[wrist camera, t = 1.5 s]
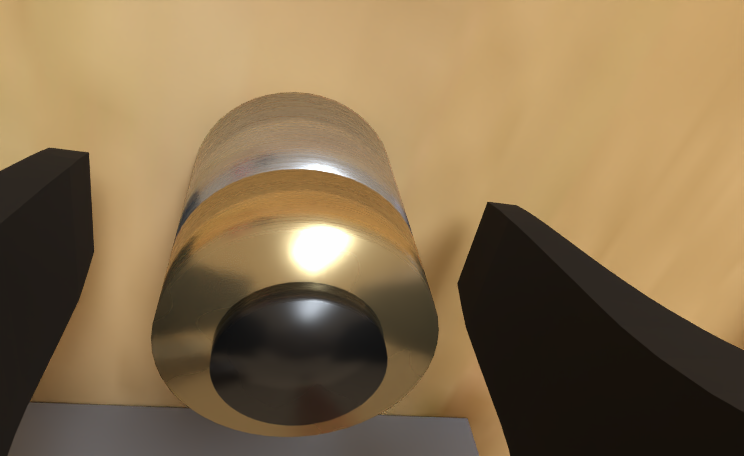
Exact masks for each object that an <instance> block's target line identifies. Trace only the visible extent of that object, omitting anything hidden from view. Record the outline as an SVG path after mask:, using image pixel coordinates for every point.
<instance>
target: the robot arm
mask: <svg viewBox="0 0 744 456" xmlns="http://www.w3.org/2000/svg"><path fill="white" fill-rule="evenodd" d="M93 253H94V240H93V221H92V202H91V183H90V165H89V153H88V152H80V151H72V150H64V149H56V148H47V149H45V150H42V151H40V152H38V153H35V154H33V155H31V156H29V157H27V158H25V159H23V160H21V161H19V162H17V163H15V164H13V165H11V166H9V167H7V168H5V169H3V170H2V171H0V456H8V453H9V450H10V447H11V445H12V442H13V439H14V436H15V434H16V431H17V429H18V427H19V424H20V422H21V420H22V417H23V415H24V413H25V410H26V408H27V406H28V404H29V402H30V400H31V398H32V396H33V394H34V392H35V390H36V388H37V386H38V383H39V381H40V379H41V377H42V375H43V373H44V371H45V369H46V367H47V365H48V363H49V361H50V359H51V357H52V355H53V353H54V351H55V349H56V347H57V345H58V343H59V340H60V338H61V336H62V334H63V332H64V330H65V328H66V326H67V324H68V322H69V320H70V318H71V315H72V313H73V311H74V309H75V307H76V305H77V303H78V301H79V298H80V295H81V292H82V289H83V286H84V283H85V280H86V277H87V273H88V270H89V266H90V263H91V260H92V256H93ZM457 284H458V290H459V295H460V301H461V306H462V311H463V316H464V320H465V325H466V329H467V332H468V334H469V337H470V340H471V343H472V346H473V349H474V352H475V354H476V357H477V360H478V363H479V366H480V368H481V371H482V374H483V376H484V379H485V382H486V385H487V387H488V390H489V393H490V396H491V398H492V401H493V404H494V406H495V409H496V412H497V415H498V417H499V420H500V423H501V426H502V429H503V432H504V435H505V438H506V442H507V445H508V448H509V452H510V456H744V350H742V349H740V348H738V347H736V346H734V345H732V344H730V343H728V342H726V341H724V340H722V339H720V338H718V337H716V336H714V335H712V334H711V333H709V332H707V331H705V330H703V329H701V328H700V327H698V326H696V325H694V324H693V323H691V322H689V321H687V320H686V319H684V318H682V317H680V316H679V315H677V314H675V313H674V312H672V311H670V310H668V309H667V308H665V307H663V306H662V305H660V304H659V303H657V302H655V301H654V300H652V299H651V298H649V297H647V296H646V295H644V294H643V293H641V292H640V291H638V290H637V289H635V288H634V287H632V286H631V285H629V284H628V283H627V282H625V281H624V280H622V279H621V278H619V277H618V276H616V275H615V274H613V273H612V272H611V271H609V270H608V269H606V268H605V267H603V266H602V265H601V264H599V263H598V262H597V261H595V260H594V259H592V258H591V257H590V256H588V255H587V254H586V253H584V252H583V251H582V250H580V249H579V248H578V247H576V246H575V245H574V244H572V243H571V242H569V241H568V240H567V239H565V238H564V237H563V236H561V235H560V234H559V233H557V232H556V231H555V230H553V229H552V228H551V227H549V226H548V225H546V224H545V223H544V222H542V221H541V220H539V219H538V218H536V217H535V216H533V215H532V214H530V213H529V212H527V211H526V210H524V209H522V208H520V207H519V206H517V205H509V204H501V203H493V202H487V205H486V208H485V210H484V213H483V216H482V219H481V221H480V224H479V227H478V229H477V232H476V235H475V237H474V240H473V243H472V246H471V248H470V251H469V254H468V256H467V259H466V262H465V264H464V267H463V270H462V273H461V275H460V278H459V281H458V283H457Z"/></svg>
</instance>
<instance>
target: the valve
mask: <svg viewBox="0 0 744 456" xmlns="http://www.w3.org/2000/svg"><path fill="white" fill-rule="evenodd" d="M438 331H439V329H438V316H437V313H436V309H435V305H434V301H433V298H432V295H431V292H430V289H429V286H428V282H427V279H426V276H425V273H424V270H423V267H422V263H421V260H420V257H419V254H418V251H417V248H416V244H415V241H414V238H413V235H412V232H411V229H410V225H409V222H408V219H407V216H406V213H405V210H404V206H403V203H402V200H401V197H400V194H399V191H398V187H397V184H396V181H395V178H394V175H393V172H392V168H391V165H390V162H389V159H388V156H387V153H386V150H385V148H384V146H383V143H382V142H381V140H380V138H379V137H378V135H377V134H376V132H375V131H374V130H373V129H372V127H371V126H370V125H369V124H368V123H367V122H366V121H365V120H364V119H363V118H362V117H361V116H360V115H358V114H357V113H355V112H354V111H353V110H351V109H350V108H348V107H346V106H344V105H342V104H340V103H338V102H337V101H334V100H331V99H328V98H326V97H322V96H318V95H313V94H308V93H297V92H291V93H277V94H271V95H266V96H262V97H259V98H255V99H253V100H250V101H248V102H246V103H244V104H241V105H240V106H238V107H236V108H235V109H233V110H231V111H230V112H229V113H227V114H226V115H225V116H224V117H222V118H221V119H220V120H219V121H218V122H217V123H216V124H215V125H214V127H213V128H212V129H211V130H210V132H209V133H208V134H207V136H206V137H205V139H204V141H203V143H202V145H201V147H200V149H199V152H198V155H197V159H196V162H195V166H194V169H193V173H192V177H191V181H190V185H189V188H188V192H187V196H186V200H185V204H184V207H183V211H182V215H181V219H180V223H179V226H178V230H177V234H176V238H175V241H174V245H173V249H172V253H171V257H170V260H169V264H168V268H167V272H166V276H165V279H164V283H163V287H162V291H161V294H160V298H159V302H158V306H157V310H156V313H155V317H154V321H153V326H152V335H151V343H152V353H153V357H154V360H155V364H156V367H157V369H158V371H159V373H160V375H161V377H162V379H163V380H164V382H165V383H166V385H167V386H168V388H169V389H170V390H171V391H172V392H173V393H174V394H175V395H176V397H177V398H178V399H179V400H180V401H182V402H183V403H184V404H185V405H187V406H188V407H189V408H190V409H192V410H193V411H195V412H196V413H198V414H200V415H201V416H203V417H205V418H207V419H209V420H211V421H213V422H215V423H217V424H220V425H223V426H225V427H228V428H231V429H234V430H238V431H242V432H246V433H250V434H257V435H263V436H275V437H301V436H312V435H319V434H324V433H330V432H334V431H338V430H341V429H345V428H348V427H351V426H354V425H357V424H359V423H362V422H364V421H366V420H368V419H371V418H373V417H375V416H377V415H378V414H380V413H382V412H383V411H385V410H387V409H389V408H390V407H391V406H393V405H394V404H395V403H397V402H398V401H400V400H401V399H402V398H403V397H404V396H405V395H406V394H407V393H409V392H410V391H411V390H412V389H413V387H414V386H415V385H416V384H417V383H418V382H419V380H420V379H421V378H422V376H423V375H424V373H425V372H426V370H427V369H428V367H429V364H430V362H431V360H432V358H433V356H434V352H435V349H436V345H437V340H438Z"/></svg>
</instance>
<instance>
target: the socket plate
mask: <svg viewBox="0 0 744 456" xmlns="http://www.w3.org/2000/svg"><path fill="white" fill-rule="evenodd" d="M8 456H479V454H478V450H477V447H476V444H475V441H474V438H473V434H472V431H471V428H470V425H469V421H468V418H442V417H415V416H388V415H377V416H375V417H373V418H371V419H368V420H366V421H364V422H362V423H359V424H357V425H354V426H351V427H348V428H345V429H341V430H338V431H334V432H330V433H324V434H319V435H312V436H301V437H275V436H263V435H257V434H250V433H246V432H242V431H238V430H234V429H231V428H228V427H225V426H223V425H220V424H217V423H215V422H213V421H211V420H209V419H207V418H205V417H203V416H201V415H200V414H198V413H196V412H195V411H193V410H192V409H190V408H170V407H142V406H115V405H88V404H61V403H33V402H29V404H28V406H27V408H26V410H25V413H24V415H23V417H22V420H21V422H20V424H19V427H18V429H17V431H16V434H15V436H14V439H13V442H12V445H11V447H10V450H9V453H8Z"/></svg>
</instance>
